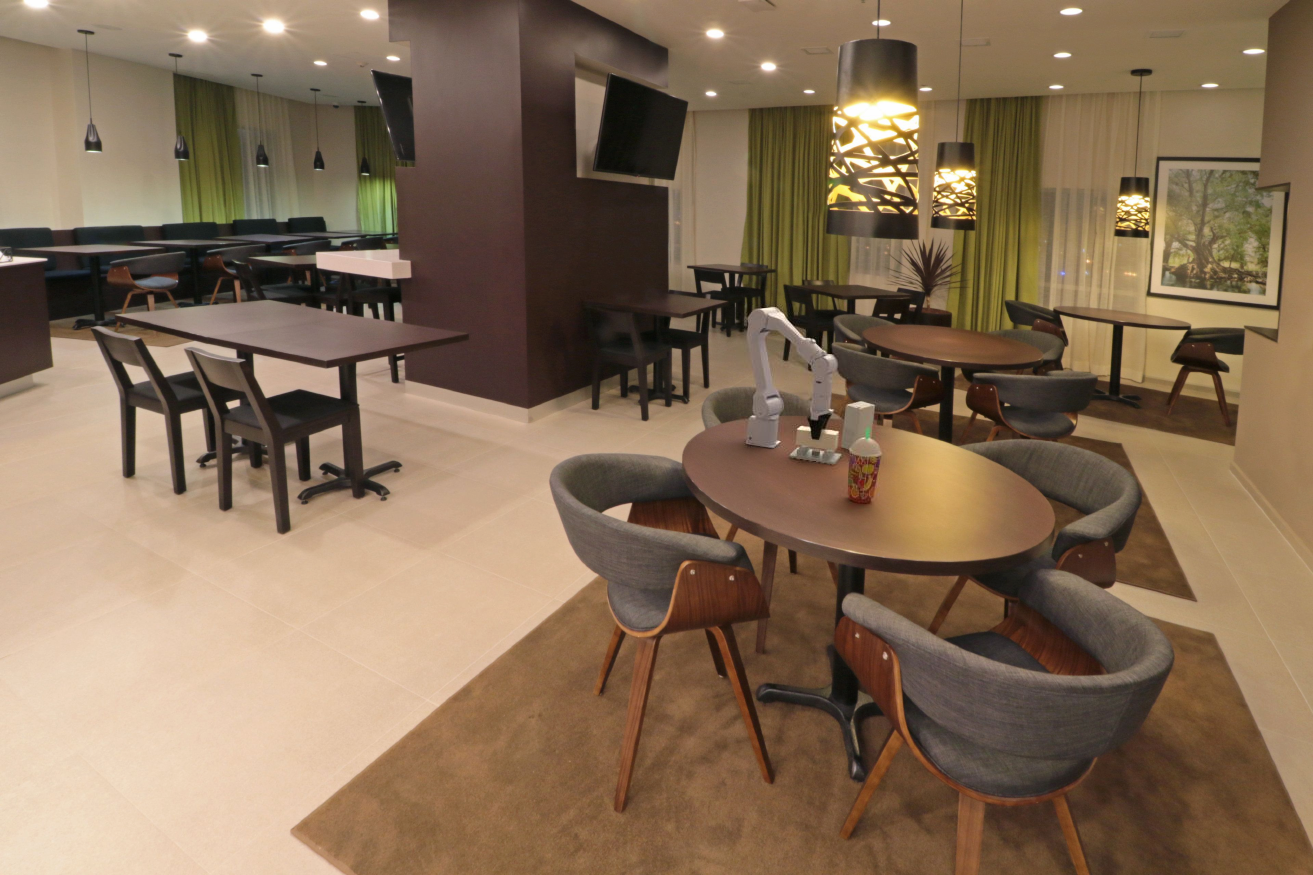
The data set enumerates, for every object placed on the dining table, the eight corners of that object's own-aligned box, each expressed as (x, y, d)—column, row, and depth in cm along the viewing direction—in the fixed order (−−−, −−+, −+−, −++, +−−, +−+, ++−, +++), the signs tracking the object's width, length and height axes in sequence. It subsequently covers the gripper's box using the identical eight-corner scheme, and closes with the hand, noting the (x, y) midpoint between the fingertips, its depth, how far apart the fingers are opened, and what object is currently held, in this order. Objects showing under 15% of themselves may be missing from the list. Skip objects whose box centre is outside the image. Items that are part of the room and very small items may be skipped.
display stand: (789, 457, 245) (789, 449, 245) (797, 449, 254) (798, 441, 253) (833, 465, 240) (834, 457, 239) (841, 456, 249) (842, 448, 248)
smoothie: (839, 494, 216) (847, 423, 210) (869, 494, 216) (878, 424, 211) (849, 505, 208) (858, 432, 202) (880, 505, 208) (889, 432, 203)
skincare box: (856, 443, 263) (861, 400, 259) (871, 448, 259) (876, 404, 254) (840, 447, 258) (844, 403, 254) (855, 452, 253) (860, 407, 249)
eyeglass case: (795, 444, 246) (797, 429, 245) (799, 441, 250) (801, 425, 249) (834, 450, 242) (835, 434, 240) (837, 446, 246) (839, 431, 244)
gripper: (829, 401, 233) (824, 445, 237) (840, 391, 246) (835, 433, 250) (805, 398, 236) (801, 441, 240) (817, 389, 249) (813, 430, 253)
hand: (817, 437), depth 245 cm, fingers closed on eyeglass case, 4 cm apart
